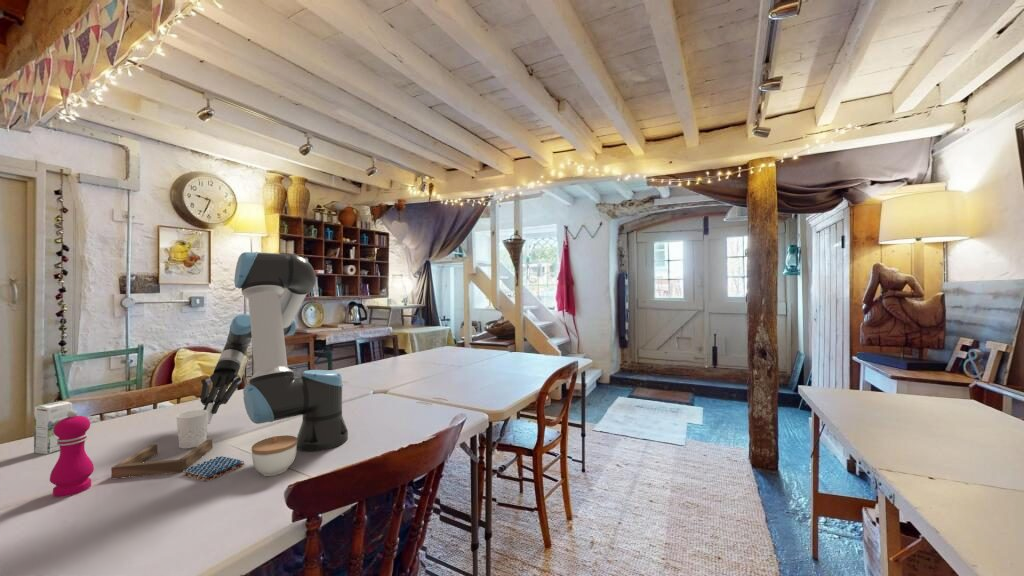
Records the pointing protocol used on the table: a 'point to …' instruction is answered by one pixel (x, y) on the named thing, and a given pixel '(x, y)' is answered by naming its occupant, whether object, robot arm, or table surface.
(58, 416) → the syrup box
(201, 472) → the woven mat
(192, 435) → the white cup
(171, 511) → the table surface
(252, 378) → the robot arm
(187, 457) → the walnut bay
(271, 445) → the lidded jar
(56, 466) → the pepper mill
